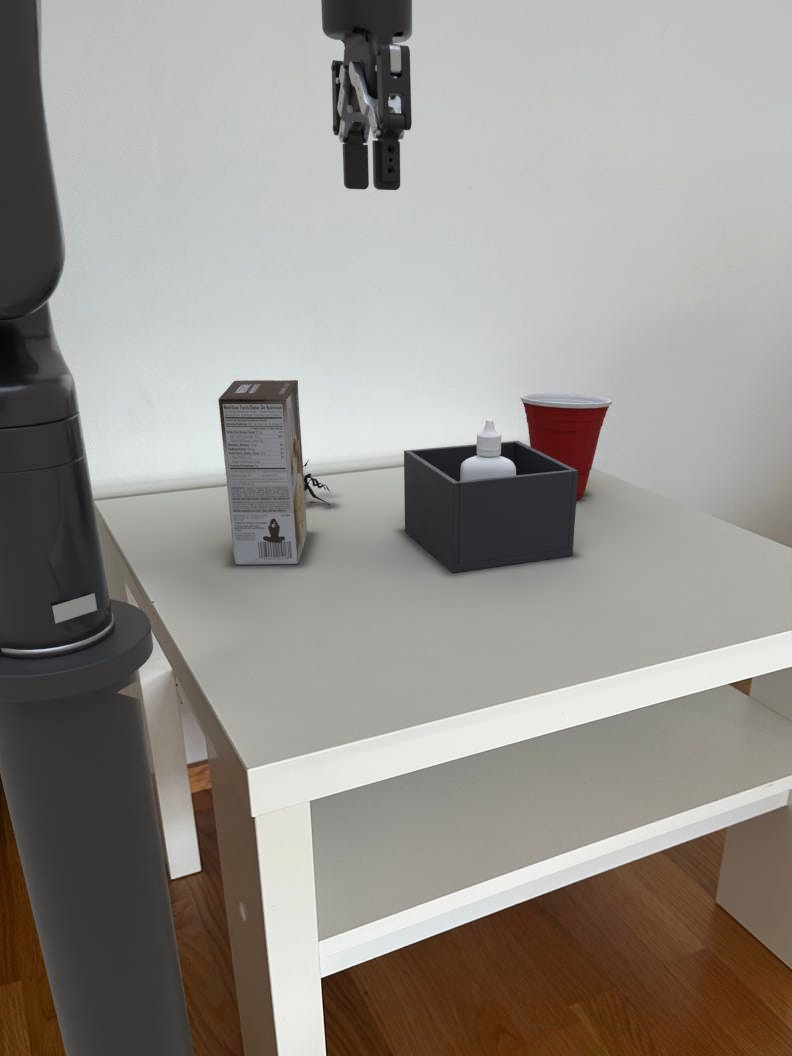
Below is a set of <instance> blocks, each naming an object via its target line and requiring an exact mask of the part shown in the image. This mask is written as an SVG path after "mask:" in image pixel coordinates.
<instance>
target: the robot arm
mask: <svg viewBox="0 0 792 1056" xmlns="http://www.w3.org/2000/svg"><path fill="white" fill-rule="evenodd" d="M320 2H321V3H320V5H321V27H322V32H323V34H324V35H325V36H326V37H327V38H329V39H332V40H334V41H341V42H342V43H343V44H344V45H343V47H344V50H343V60H337V59H335V60H334V59H333V60H332V61H331V66H330V70H331V97H332V132H333V135H334V136H336V137H337V136H338V140H339V143H341V144H342V168H343V185H344V187H345V189H348V190H367V189H368V188H369V186H370V177H369V176H370V175H369V171H370V170H369V144H368V142H369V136H370V131H371V136H372V138H373V140H372V144H371V145H372V180H373V181H372V183H373V187H374V189H376V190H378V191H397V190H399V189H400V188H401V141H402V140H403V139H404V136H405V131H410V130H411V129H412V125H413V124H412V123H413V121H412V118H413V117H412V84H411V83H412V82H411V51H410V50H411V49H410V46H409V45H402V44H400V43H404V42H407V41H408V40H410V39H411V38H412V35H413V0H320ZM42 25H43V24H42V0H0V657H9V658H16V659H41V658H51V657H57V656H63V655H67V654H71V653H75V652H78V651H81V650H84V649H87V648H90V647H92V646H94V645H96V644H98V643H100V642H102V641H103V640H105V639H106V638H107V637H108V636H110V635H111V633H112V632H113V631H114V628H115V622H114V616H113V613H112V612H111V601H110V599H111V598H110V594H109V588H108V587H109V586H108V581H107V575H106V574H107V573H106V568H105V561H104V556H103V555H104V554H103V550H102V543H101V537H100V531H99V524H98V518H97V513H96V506H95V499H94V494H93V488H92V482H91V475H90V469H89V462H88V457H87V450H86V444H85V438H84V437H85V436H84V431H83V424H82V419H81V413H80V404H79V398H78V393H77V386H76V383H75V379H74V376H73V374H72V372H71V370H70V368H69V366H68V363H67V362H66V360H65V358H64V356H63V353H62V350H61V348H60V345H59V343H58V339H57V337H56V333H55V328H54V322H53V318H52V313H51V308H50V303H49V302H50V301H49V300H50V299H51V298H52V296H53V295H54V294H55V292H56V290H57V289H58V287H59V284H60V281H61V279H62V277H63V274H64V269H65V263H66V238H65V230H64V223H63V216H62V211H61V205H60V204H61V203H60V198H59V192H58V187H57V180H56V179H57V178H56V175H55V168H54V162H53V155H52V148H51V147H52V146H51V141H50V135H49V129H48V122H47V115H46V106H45V98H44V87H43V69H42V68H43V67H42V66H43V65H42V64H43V63H42V35H43V34H42V31H43V30H42V29H43V27H42ZM374 139H375V140H374ZM376 139H377V140H376Z"/></svg>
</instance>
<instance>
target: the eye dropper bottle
mask: <svg viewBox="0 0 792 1056" xmlns="http://www.w3.org/2000/svg"><path fill="white" fill-rule="evenodd" d="M484 423H485V424H484V428H483V429H482V431H479V432H478V433H477V434H476V444H477V454H478V455H477V456H474V457H471V458H468V459H466V460H465V461H464V462H463V463H462V464H461V469H460V481H468V480H477V479H487V478H497V477H507V476H516V467H515V465H514V463H513V462H512V461H511V460H509V459H507V458H505V457H502V456H500V454H501V442H502V434H501V433H500V432H498V431H497V430H496V429H495V423H494V420H493V419H490V418H488V419H485V422H484Z"/></svg>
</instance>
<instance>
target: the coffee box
mask: <svg viewBox="0 0 792 1056" xmlns="http://www.w3.org/2000/svg"><path fill="white" fill-rule="evenodd" d="M218 409H219V410H218V411H219V420H220V430H221V438H222V449H223V459H224V467H225V479H226V489H227V500H228V509H229V518H230V519H229V521H230V527H231V528H230V529H231V539H232V549H233V557H234V558H233V559H234V564H235V565H238V566H241V565H243V566H244V565H245V566H246V565H247V566H249V565H250V566H251V565H252V566H253V565H298V564H299V563H300V559H301V556H302V553H303V549H304V546H305V543H306V539H307V536H308V523H307V508H306V507H307V506H306V505H307V504H305V503H306V493H305V492H306V491H305V490H304V476H305V473H304V467H303V466H304V464H303V463H304V461H303V446H302V431H301V415H300V399H299V380H298V379H290V380H288V379H287V380H286V379H283V380H276V379H275V380H271V379H267V380H266V379H265V380H263V379H262V380H261V379H260V380H259V379H255V380H244V379H243V380H233V382H232V383H231V384H230V385H229V386H228V387H227V389H226V390H225V391H224V392H223V393H222V394H221V395H220V396H219V397H218Z"/></svg>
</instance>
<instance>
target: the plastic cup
mask: <svg viewBox="0 0 792 1056" xmlns="http://www.w3.org/2000/svg"><path fill="white" fill-rule="evenodd" d="M519 397H520V401H521V402H522V404H523V407H524V413H525V416H526V417H525V418H526V423H527V428H528V429H527V431H528V437H529V438H528V439H529V447H531V448H533V449H535V450H537V451H539V452H541V453H543V454H545V455H547V456H549V457H551V458H553V459H555V460H557V461H559V462H561V463H563V464H565V465H567V466H569V467H571V468H573V469H575V470H577V471H578V483H577V497H576V501H577V500H581V499H582V498H583V497H584V494H585V492H586V490H587V486H588V481H589V477H590V472H591V470H592V467H593V463H594V459H595V455H596V452H597V451H596V450H597V446H598V442H599V438H600V434H601V430H602V427H603V425H604V421H605V418H606V416H607V412H608V410H609V409H610V406H611V405H613V400H612V399H611V398H607V397H602V396H597V395H589V394H580V393H579V394H577V393H557V392H555V393H554V392H543V393H542V392H540V393H538V392H536V393H525V394H522V395H519Z"/></svg>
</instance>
